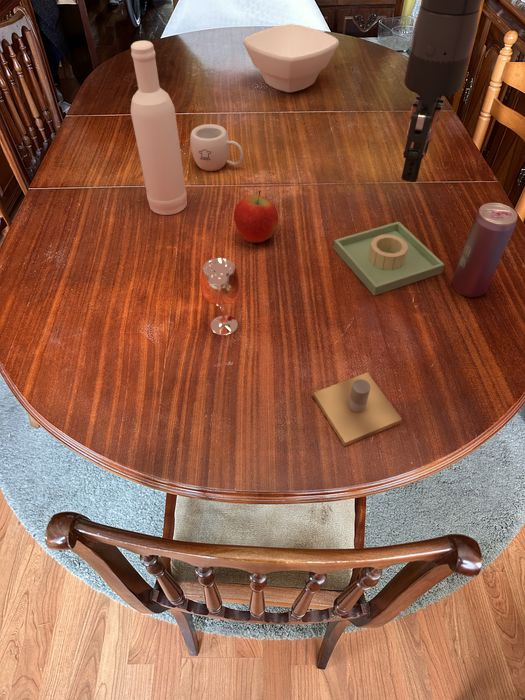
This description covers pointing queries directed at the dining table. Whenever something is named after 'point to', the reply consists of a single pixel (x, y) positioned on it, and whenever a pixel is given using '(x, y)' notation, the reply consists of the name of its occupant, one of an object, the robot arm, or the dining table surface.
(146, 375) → the dining table surface
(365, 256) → the tray
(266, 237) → the apple
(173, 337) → the dining table surface
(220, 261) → the wineglass
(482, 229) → the beverage can
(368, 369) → the dining table surface
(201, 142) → the mug
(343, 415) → the peg stand
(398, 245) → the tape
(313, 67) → the bowl
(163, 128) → the bottle
